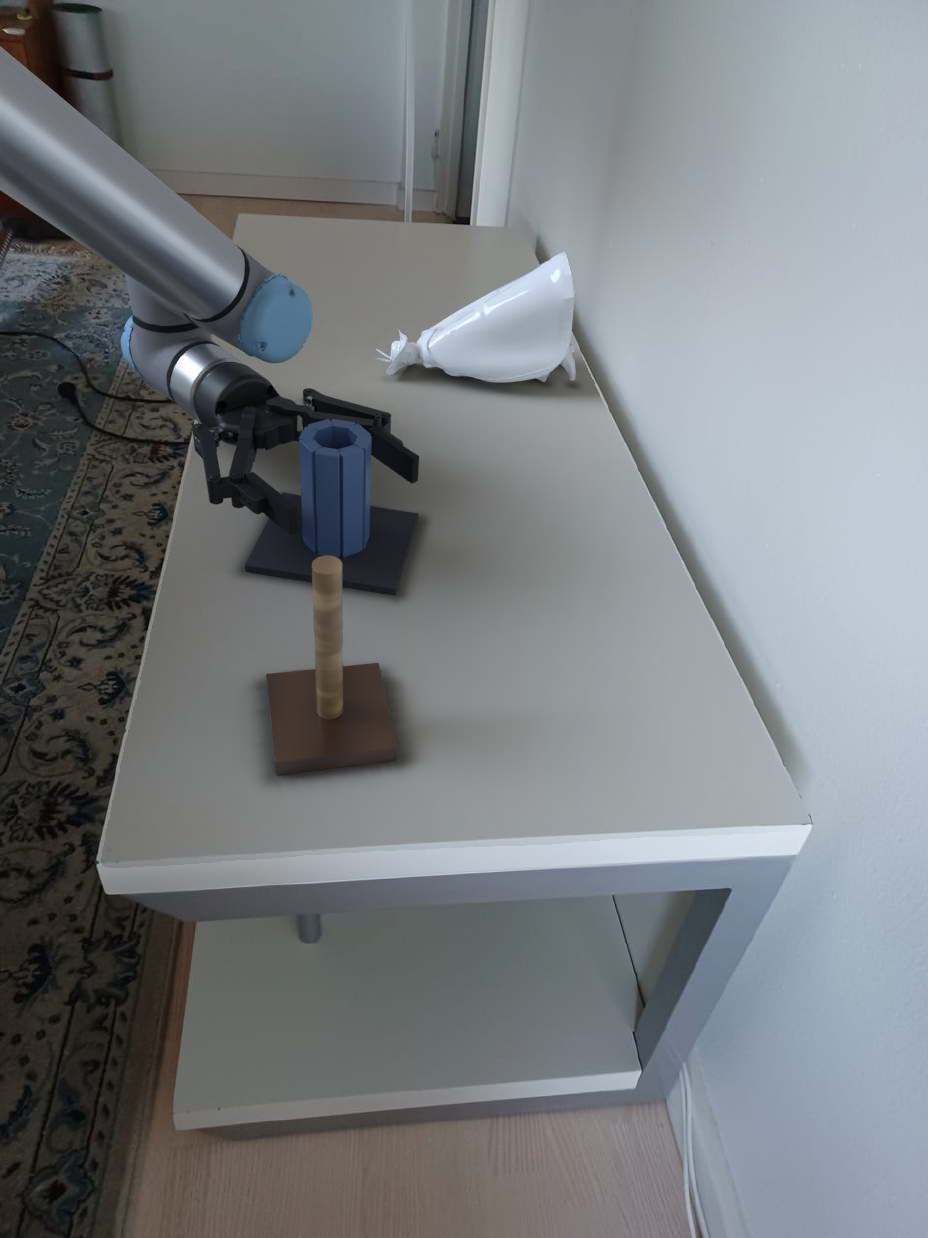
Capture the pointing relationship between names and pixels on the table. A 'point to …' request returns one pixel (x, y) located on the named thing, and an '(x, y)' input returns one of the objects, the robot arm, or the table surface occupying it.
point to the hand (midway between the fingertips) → (357, 494)
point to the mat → (359, 571)
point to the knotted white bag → (503, 331)
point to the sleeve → (335, 487)
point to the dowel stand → (329, 695)
